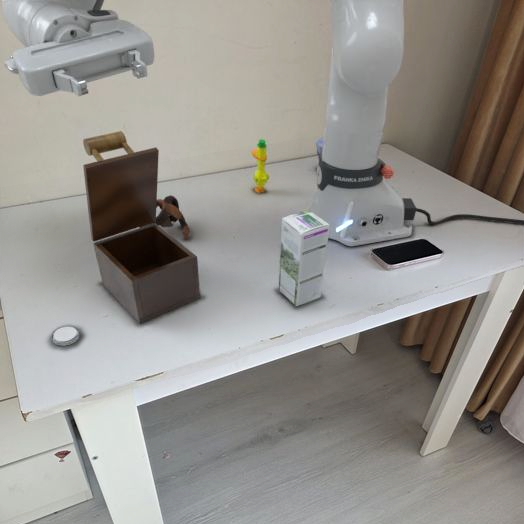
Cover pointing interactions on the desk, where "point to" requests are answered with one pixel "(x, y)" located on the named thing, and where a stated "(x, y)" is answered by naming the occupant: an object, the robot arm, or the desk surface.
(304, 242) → the syrup box
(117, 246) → the box
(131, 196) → the chest lid
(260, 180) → the toy figure
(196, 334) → the desk surface
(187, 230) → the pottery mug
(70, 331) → the white flat disc
